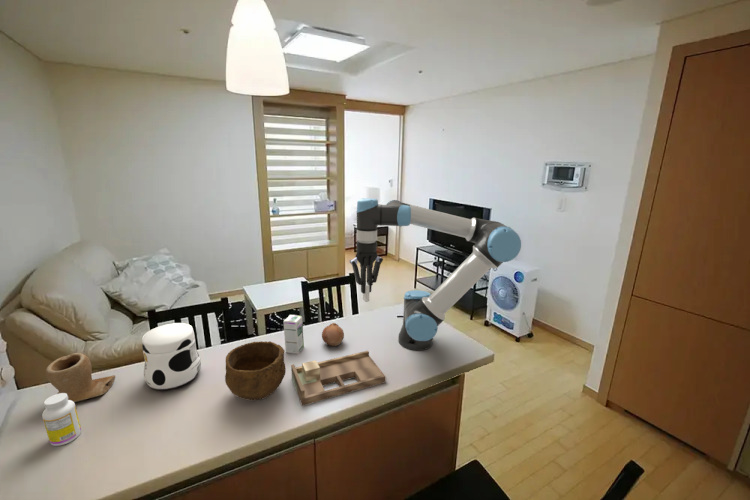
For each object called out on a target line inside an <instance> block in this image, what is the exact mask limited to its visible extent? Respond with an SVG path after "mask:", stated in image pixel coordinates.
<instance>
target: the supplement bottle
mask: <svg viewBox="0 0 750 500" xmlns="http://www.w3.org/2000/svg"><path fill="white" fill-rule="evenodd" d="M43 404H44V408H45V409H44V410H43V412H42V414H41V417H42V420H43V424H44V427H45V430H46V434H47V438H48V441H49V444H50V445H51V446H54V447H60V446H63V445H66V444H69V443H71V442H73V441H74V440H76V438H78V437H79V436H80V434H82V433H81V432H82V426H81V422H80V419H79V414H78V411H77V406H76V402H73V401H71V400H68V395H67V394H66V393H59V394H57V393H56V394H53V395H51V396H49V397H48V398H46V399H45V400H44V402H43Z"/></svg>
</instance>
